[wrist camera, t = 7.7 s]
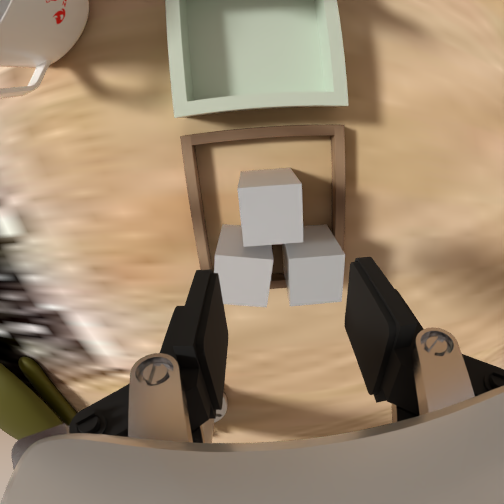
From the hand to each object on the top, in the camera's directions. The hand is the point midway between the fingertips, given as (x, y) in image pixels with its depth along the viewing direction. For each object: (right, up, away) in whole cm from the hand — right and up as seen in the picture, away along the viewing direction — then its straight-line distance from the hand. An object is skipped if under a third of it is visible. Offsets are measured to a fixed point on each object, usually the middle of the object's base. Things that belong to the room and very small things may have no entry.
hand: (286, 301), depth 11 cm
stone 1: (0, +7, +14) cm, 15 cm away
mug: (-19, +22, +7) cm, 30 cm away
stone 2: (-2, +2, +16) cm, 16 cm away
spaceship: (-48, -27, +31) cm, 63 cm away
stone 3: (+3, +2, +16) cm, 16 cm away
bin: (-1, +18, +8) cm, 20 cm away
